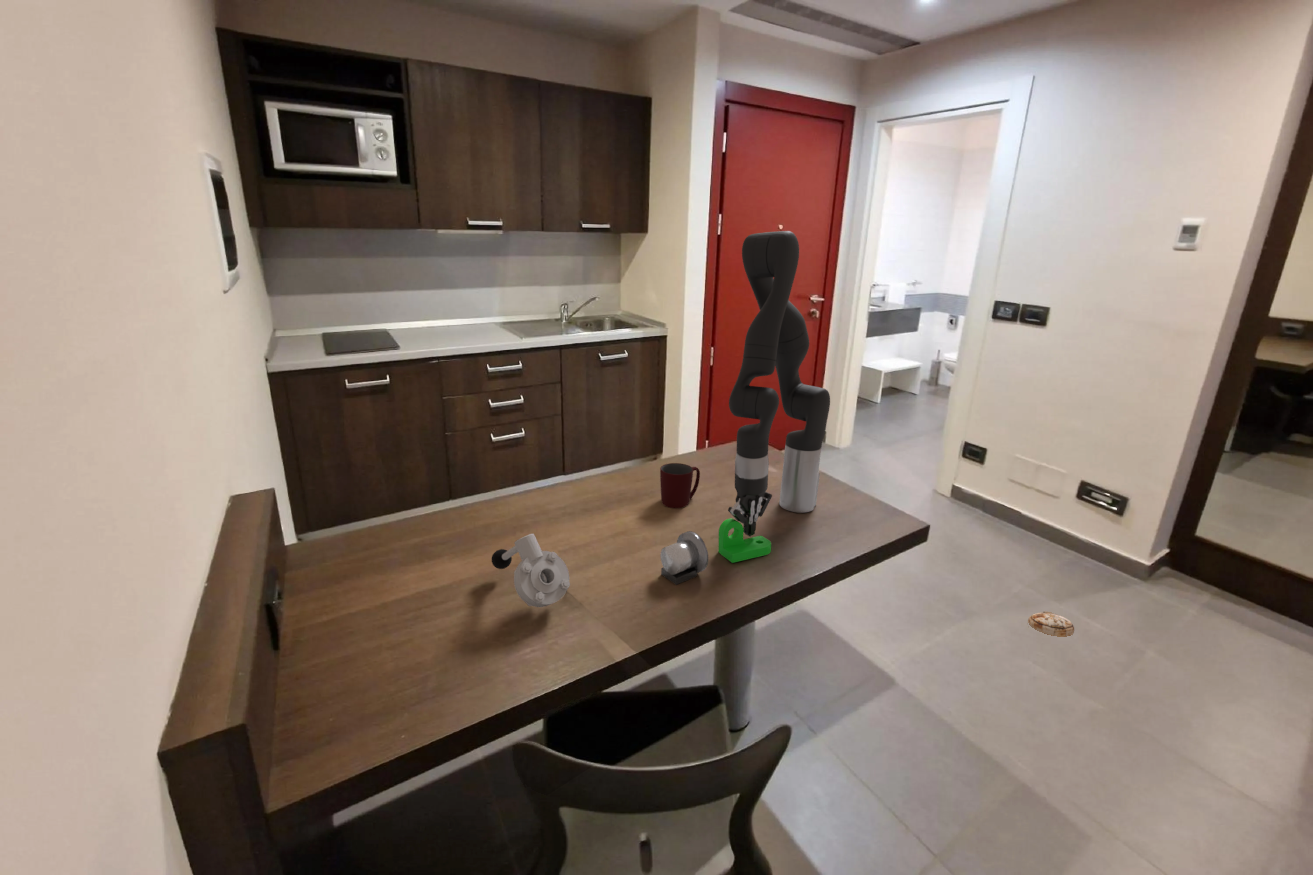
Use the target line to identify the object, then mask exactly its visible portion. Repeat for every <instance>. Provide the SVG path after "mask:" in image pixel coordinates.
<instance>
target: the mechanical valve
mask: <svg viewBox="0 0 1313 875" xmlns="http://www.w3.org/2000/svg"><path fill="white" fill-rule="evenodd" d="M516 554H518V555H519V558H520V559H521V561H520V562H519V563H518V565H517V566H516V568H515V570H514V572H513V585H514V590H515V592H516V594H517V596H519V599H521V601H523V602H524V603H526V604H527V606H528V607H535V608H544V607H547V606H550V605H553V604H554V603H557V602H558V601H560V600H561V599H562V598H563V597H564V596H565V595H566V593H567V591H568V589H569V587H570V586H571V583H570V572H569V568H568V566H567V565H566V563H565V561H564V560H563V559H562V558H561V557H560V556H559V555H558V554H557V553H556V552H555V551H548V550H542V548H541V547H540V544H539V542H538V539H537V538H536V536H535V533H529V534H527V535H525V536H523V537H520V538H518V539H517V540H515V541H514V545H513V547H511V548H510V549H508V550H507V549H503V548H500V549H498V550H496V551H494V552H493V554H492V555H491V563H492V566H494V568H496V569H498V570H503V569H507V568H508V567H509V566H510V565H511V563H512V559H513V558H512V557H513V556H514V555H516Z"/></svg>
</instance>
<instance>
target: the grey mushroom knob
mask: <svg viewBox="0 0 1313 875" xmlns="http://www.w3.org/2000/svg"><path fill="white" fill-rule="evenodd" d="M660 561H661V565H662V567H661V568H660V574H661V576H663V577H664V578H665V579H667V580H669V582H671V583H672V584H674V585H676V586H677V585H679V584H681V583H684V582H686V581H689V580H691V579H694V578H696V577H697V576H698V575H697V574H699V573H701V572H704V571H705V570H706V569H707V566H708V564H709V552H708V548H707V546H706V543H705V541H704V540H703V538H702V537H701V536H700V535H699V534H698V533H696V532H695V531H691V530H689V531H685V532H682V533H681V534H680V535H679V536H678V537H677V540H676V542H675V543H672V544H670V545H667V546H664V547H662V548H661V551H660Z"/></svg>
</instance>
